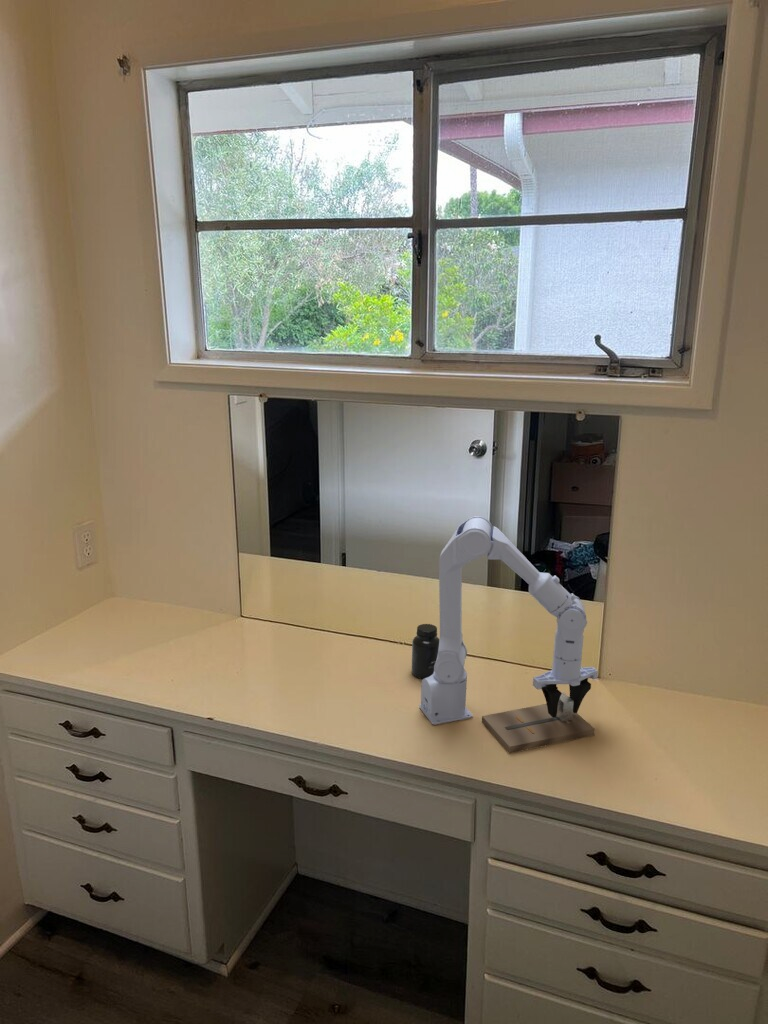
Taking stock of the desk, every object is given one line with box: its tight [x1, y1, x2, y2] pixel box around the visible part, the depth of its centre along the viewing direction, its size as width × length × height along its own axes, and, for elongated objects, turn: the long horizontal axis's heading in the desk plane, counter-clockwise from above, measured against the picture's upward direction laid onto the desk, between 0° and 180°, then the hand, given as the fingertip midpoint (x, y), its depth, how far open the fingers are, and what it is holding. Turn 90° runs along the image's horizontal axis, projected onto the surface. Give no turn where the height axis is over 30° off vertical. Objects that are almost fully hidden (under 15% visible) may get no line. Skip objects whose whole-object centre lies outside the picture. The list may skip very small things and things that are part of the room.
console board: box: [481, 703, 596, 754], centre depth 156 cm, size 20×12×2 cm, turn 110°
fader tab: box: [556, 692, 574, 722], centre depth 157 cm, size 2×4×4 cm, turn 20°
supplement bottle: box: [411, 623, 440, 680], centre depth 178 cm, size 7×7×12 cm
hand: (562, 712), depth 158 cm, fingers open, 5 cm apart
